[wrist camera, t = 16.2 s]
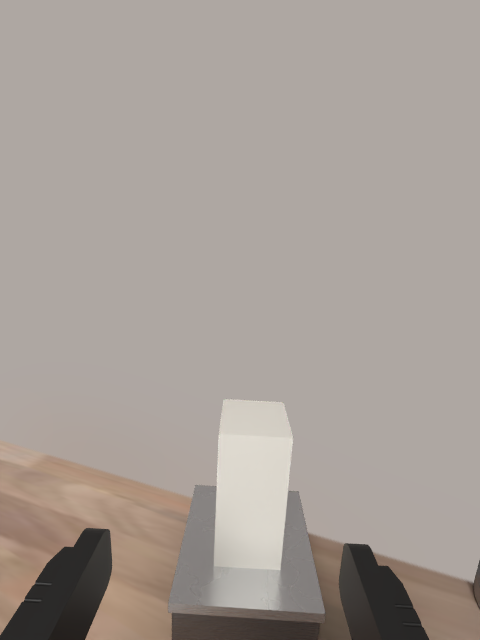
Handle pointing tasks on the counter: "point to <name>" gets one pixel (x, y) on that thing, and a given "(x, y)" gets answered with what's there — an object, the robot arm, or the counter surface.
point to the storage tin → (244, 584)
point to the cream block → (252, 484)
